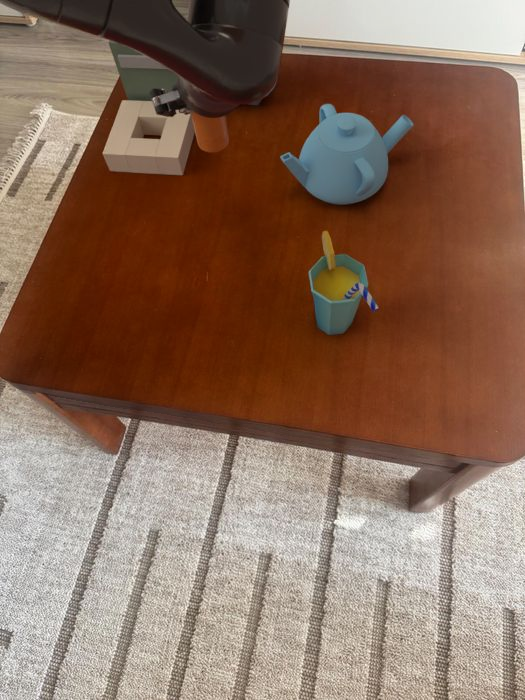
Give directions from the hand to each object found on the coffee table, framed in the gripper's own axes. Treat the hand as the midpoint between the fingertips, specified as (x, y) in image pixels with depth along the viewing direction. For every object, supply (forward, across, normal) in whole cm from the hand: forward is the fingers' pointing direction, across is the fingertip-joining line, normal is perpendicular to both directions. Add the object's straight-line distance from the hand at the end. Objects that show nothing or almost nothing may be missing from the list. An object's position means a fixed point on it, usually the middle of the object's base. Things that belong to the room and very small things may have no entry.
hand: (203, 100), depth 69 cm
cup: (-5, -9, +34) cm, 35 cm away
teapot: (+13, -20, +16) cm, 29 cm away
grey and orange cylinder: (+2, 0, +5) cm, 5 cm away
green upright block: (+33, +3, -5) cm, 33 cm away
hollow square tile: (+27, +7, +1) cm, 28 cm away
